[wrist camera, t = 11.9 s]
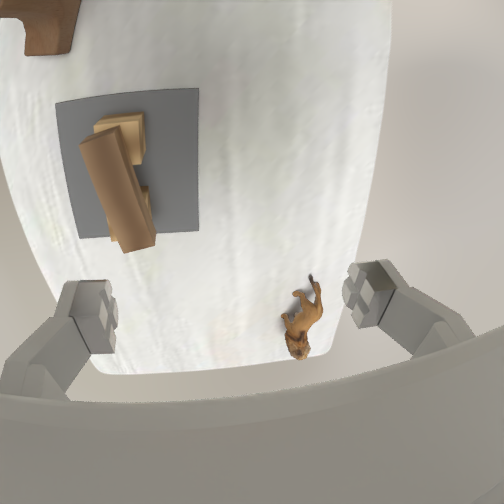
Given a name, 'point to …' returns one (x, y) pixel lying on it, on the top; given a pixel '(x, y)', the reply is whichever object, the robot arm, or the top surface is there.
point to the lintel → (118, 189)
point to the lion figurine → (302, 323)
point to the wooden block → (44, 23)
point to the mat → (154, 161)
